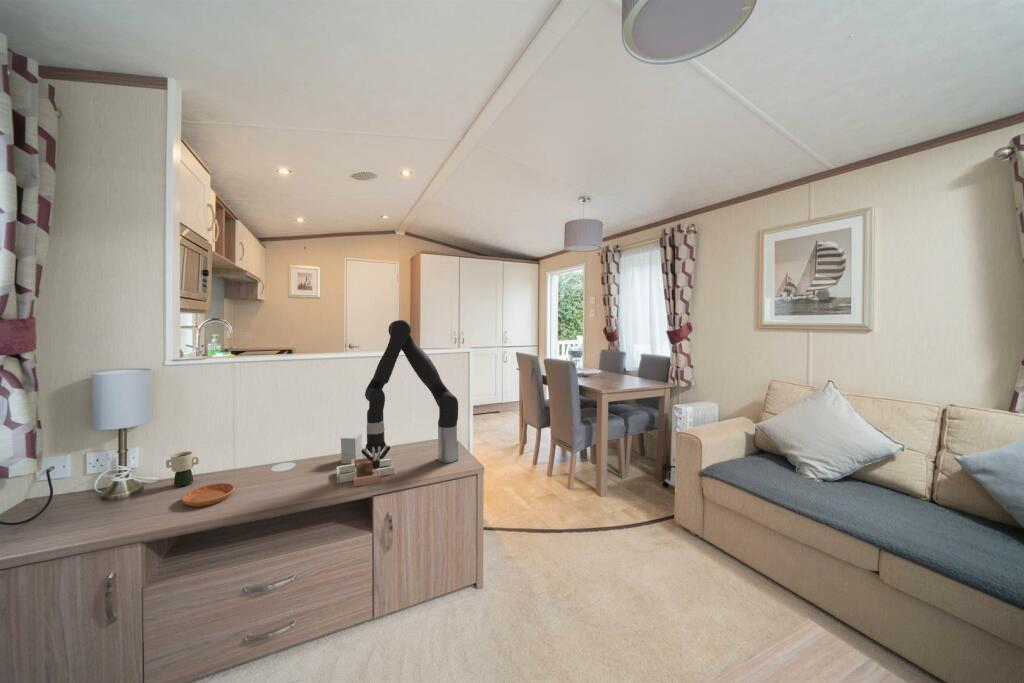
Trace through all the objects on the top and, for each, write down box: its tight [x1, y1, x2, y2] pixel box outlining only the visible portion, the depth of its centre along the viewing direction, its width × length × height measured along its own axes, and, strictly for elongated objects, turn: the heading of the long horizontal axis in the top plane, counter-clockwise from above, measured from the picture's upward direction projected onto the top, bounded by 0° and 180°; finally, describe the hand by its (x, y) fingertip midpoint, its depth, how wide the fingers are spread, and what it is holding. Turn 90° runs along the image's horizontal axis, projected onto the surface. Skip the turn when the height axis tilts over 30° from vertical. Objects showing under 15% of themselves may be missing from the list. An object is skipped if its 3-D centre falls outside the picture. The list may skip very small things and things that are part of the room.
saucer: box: [181, 482, 235, 508], centre depth 148 cm, size 16×16×3 cm
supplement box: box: [340, 433, 364, 465], centre depth 186 cm, size 7×7×13 cm
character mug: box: [165, 450, 200, 487], centre depth 159 cm, size 11×7×13 cm, turn 114°
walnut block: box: [355, 461, 373, 478], centre depth 172 cm, size 6×6×4 cm
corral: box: [336, 455, 395, 487], centre depth 173 cm, size 24×24×3 cm
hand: (376, 468), depth 175 cm, fingers closed
